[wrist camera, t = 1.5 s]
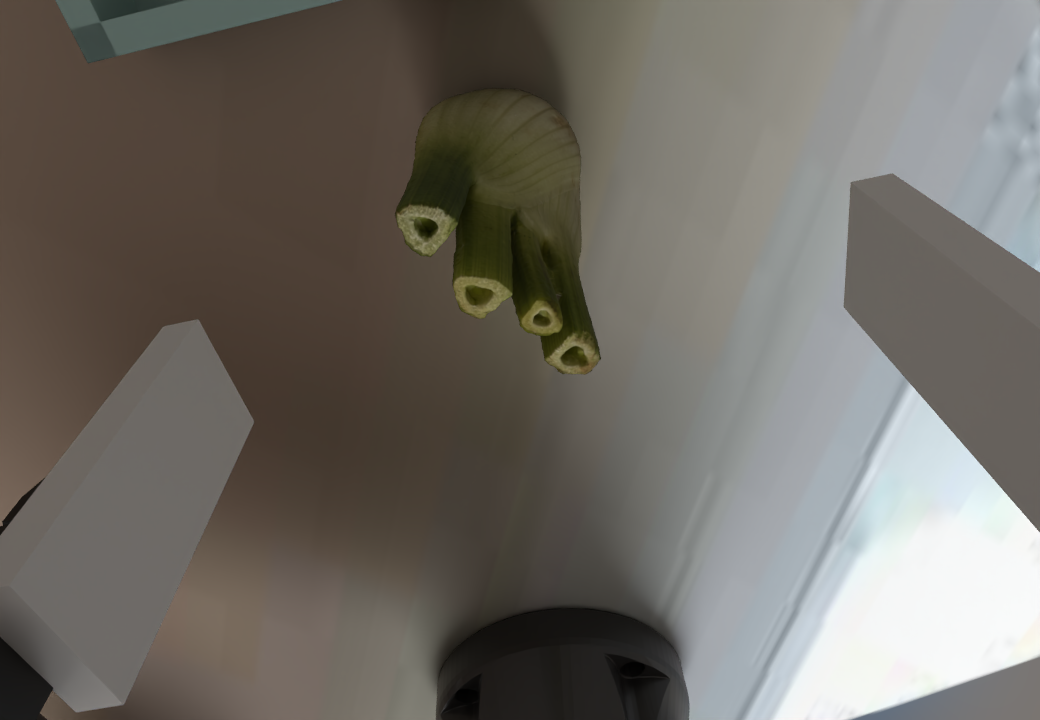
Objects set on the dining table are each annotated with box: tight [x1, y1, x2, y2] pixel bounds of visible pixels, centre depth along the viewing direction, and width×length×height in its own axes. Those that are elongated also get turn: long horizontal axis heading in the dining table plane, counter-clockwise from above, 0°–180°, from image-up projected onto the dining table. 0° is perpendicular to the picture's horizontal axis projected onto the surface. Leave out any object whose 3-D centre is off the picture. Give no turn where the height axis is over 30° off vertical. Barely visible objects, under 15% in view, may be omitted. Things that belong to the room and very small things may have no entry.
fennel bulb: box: [395, 88, 601, 374], centre depth 20 cm, size 6×5×12 cm
